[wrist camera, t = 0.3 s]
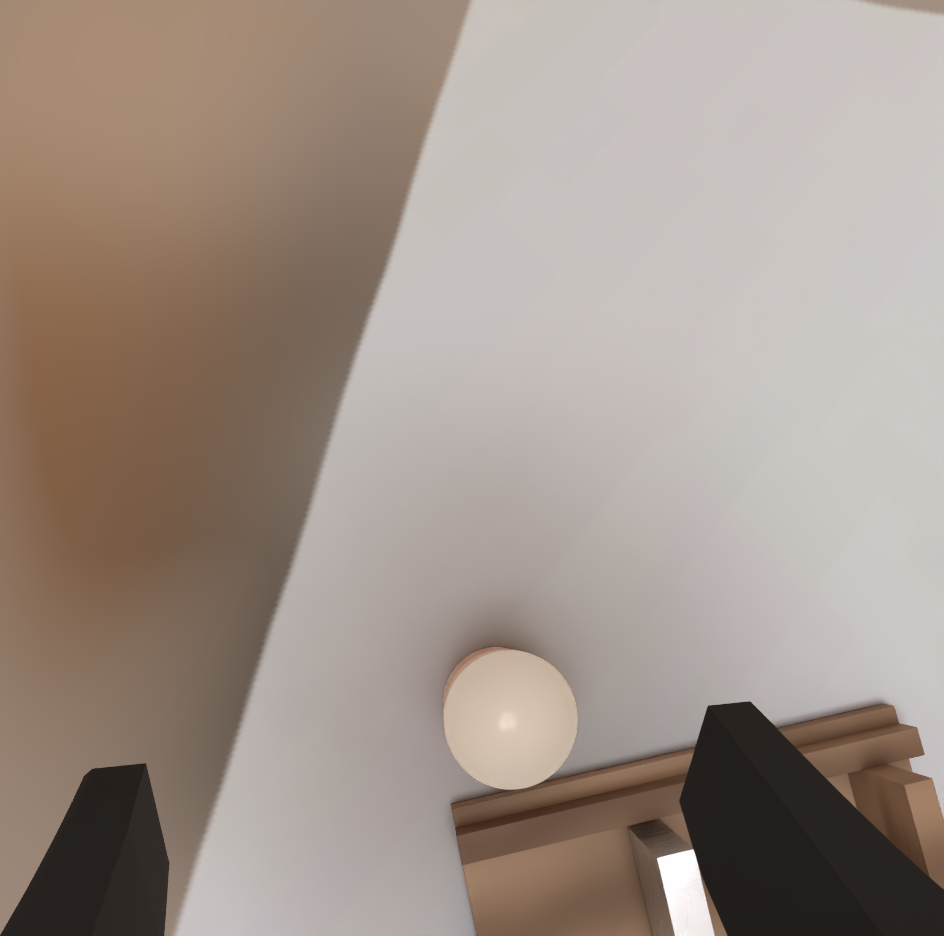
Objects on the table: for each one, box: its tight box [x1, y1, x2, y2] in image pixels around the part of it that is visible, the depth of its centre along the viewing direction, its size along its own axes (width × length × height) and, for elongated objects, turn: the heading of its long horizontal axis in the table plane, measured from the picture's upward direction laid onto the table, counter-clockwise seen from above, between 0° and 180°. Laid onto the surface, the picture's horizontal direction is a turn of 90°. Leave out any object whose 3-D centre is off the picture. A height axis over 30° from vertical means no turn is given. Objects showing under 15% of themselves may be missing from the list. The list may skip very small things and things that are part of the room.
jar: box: [443, 647, 578, 790], centre depth 37 cm, size 5×5×7 cm
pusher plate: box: [628, 819, 715, 936], centre depth 36 cm, size 7×2×5 cm, turn 12°
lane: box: [451, 704, 944, 936], centre depth 36 cm, size 12×21×6 cm, turn 102°
